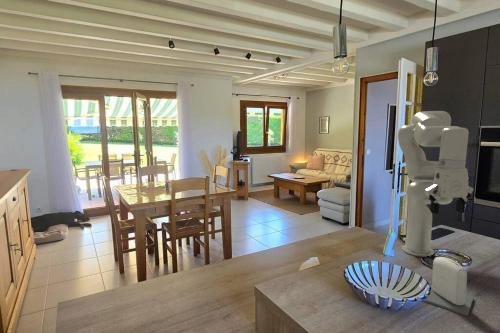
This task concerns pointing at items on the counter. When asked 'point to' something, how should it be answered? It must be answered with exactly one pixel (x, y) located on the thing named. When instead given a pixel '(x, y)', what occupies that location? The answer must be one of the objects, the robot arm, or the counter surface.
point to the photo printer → (449, 280)
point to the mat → (450, 303)
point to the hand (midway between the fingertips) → (447, 212)
